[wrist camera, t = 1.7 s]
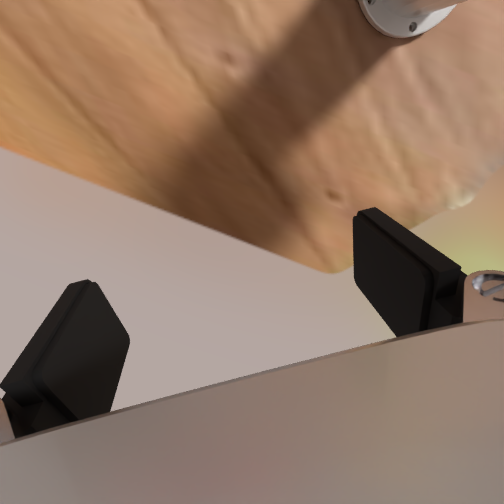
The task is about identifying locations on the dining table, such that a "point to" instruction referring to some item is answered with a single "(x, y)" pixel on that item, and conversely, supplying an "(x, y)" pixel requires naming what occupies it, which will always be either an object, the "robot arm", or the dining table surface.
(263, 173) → the dining table surface
